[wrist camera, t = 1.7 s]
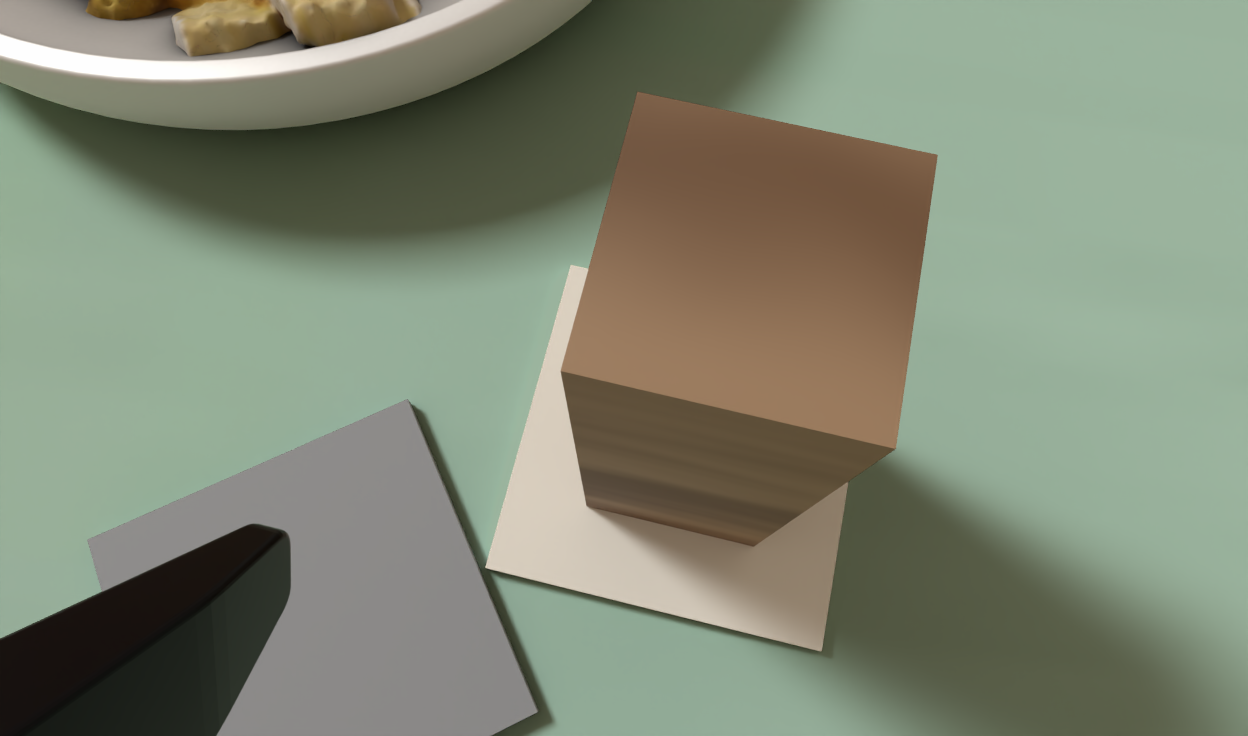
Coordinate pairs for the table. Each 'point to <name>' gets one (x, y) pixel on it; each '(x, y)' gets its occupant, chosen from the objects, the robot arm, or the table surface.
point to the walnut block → (743, 318)
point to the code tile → (654, 534)
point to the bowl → (259, 55)
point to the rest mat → (352, 590)
